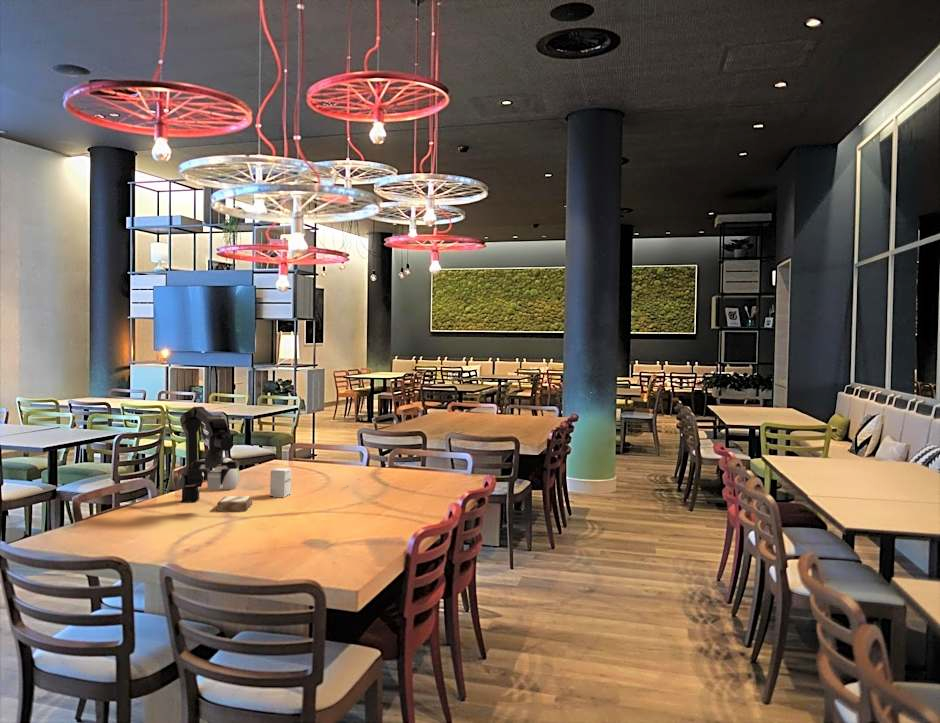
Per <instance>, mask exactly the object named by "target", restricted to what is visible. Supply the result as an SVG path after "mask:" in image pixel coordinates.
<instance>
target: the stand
mask: <svg viewBox="0 0 940 723" xmlns="http://www.w3.org/2000/svg"><path fill="white" fill-rule="evenodd" d="M216 505H217V512H247V511H248V510H249V509H250V508H251V507H252V506H251V505H253V496H245V495H244V496H243V495H242V496H241V495H239V496H236V495H234V496H233V495H229V496H227V495H226V496H223V498H221V499H220V500H218V502H217V504H216ZM250 506H251V507H250ZM248 508H249V509H248Z"/></svg>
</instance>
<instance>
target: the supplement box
mask: <svg viewBox="0 0 940 723" xmlns="http://www.w3.org/2000/svg"><path fill="white" fill-rule="evenodd" d="M269 485H270V487H269V488H270V490H269V492H270V493H269V496H273V497H272V498H282V497H284V498H286V497H288V496H290V495H291V493H292V492H291V491H292V468H286V467H285V468H284V467H277V468H273V469H271V470H270V484H269ZM289 494H290V495H289ZM287 495H288V496H287ZM285 496H286V497H285Z"/></svg>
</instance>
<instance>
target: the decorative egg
mask: <svg viewBox="0 0 940 723" xmlns="http://www.w3.org/2000/svg"><path fill="white" fill-rule="evenodd" d="M230 460H233V459H232V458H230V457H225V458H223V462H228V461H230ZM221 469H223V467H220V466H217V467H216V468H214V471H221ZM240 473H241V472H240V469H239V467H238V468H237V469H230V470H229V471H228V473H227V474H226V477H225V479H224V482H223V487H222V488H221V489H220V490H219V491H229V490H228V489H231V490H234V489H236V487H237V486H238V485H239V483H240V478H241V477H240V475H241V474H240Z"/></svg>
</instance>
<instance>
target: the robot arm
mask: <svg viewBox="0 0 940 723" xmlns="http://www.w3.org/2000/svg"><path fill="white" fill-rule="evenodd" d="M179 418H180V419H179V421H180V425H181V428H182V430H183V431H184V433H185V467H184V468H183V470H182V474H181V477H180V479H179V481H178V483H177V484H178V488H179V489H181V500H180V503H196V502H197V501H199V500H200V489H199V488H201V487H203V486H202V485H203V480H204V476H205V480H206V482H208V478H207V475H208V472H210V471H211V468H212V469H215V468H216V467H217V466H220V467H223V469H221V471H222V475H221V485H222V484H223V482H224V479H225V477H226V474H227V473H228V471H229V470H230V469H237V468H238V469H239V468H240V461H239V460H236V459H235V460H233V459H232V460H230V461H228V462H223V459H224V451H225V452H228V451H230V450H232V449H233V447H234V444H235V442H234V440H233V439H232V438H231V437H230V434H231V433H230V428H229V427H228V426H229V425H228V424H227V421H226V420H225V418H223V417H220V416H215V415H213V414H212V413H211V412H209V410H207V409H206V408H205V406H193V407H191V408H190V409H189V410H187V411H184V413H182V415H181V416H180V417H179ZM202 423H203V424H204V425H205V429H206V430H207V432H208V434H207V437H208V451H207V456H206V457H205V459H198V431H199V430H200V428H201V424H202ZM203 475H204V476H203Z"/></svg>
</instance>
